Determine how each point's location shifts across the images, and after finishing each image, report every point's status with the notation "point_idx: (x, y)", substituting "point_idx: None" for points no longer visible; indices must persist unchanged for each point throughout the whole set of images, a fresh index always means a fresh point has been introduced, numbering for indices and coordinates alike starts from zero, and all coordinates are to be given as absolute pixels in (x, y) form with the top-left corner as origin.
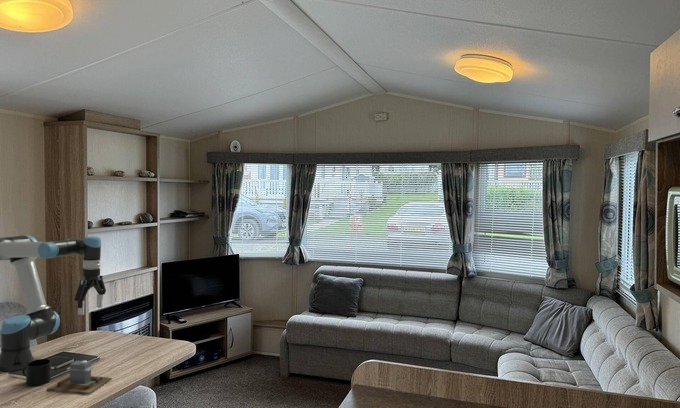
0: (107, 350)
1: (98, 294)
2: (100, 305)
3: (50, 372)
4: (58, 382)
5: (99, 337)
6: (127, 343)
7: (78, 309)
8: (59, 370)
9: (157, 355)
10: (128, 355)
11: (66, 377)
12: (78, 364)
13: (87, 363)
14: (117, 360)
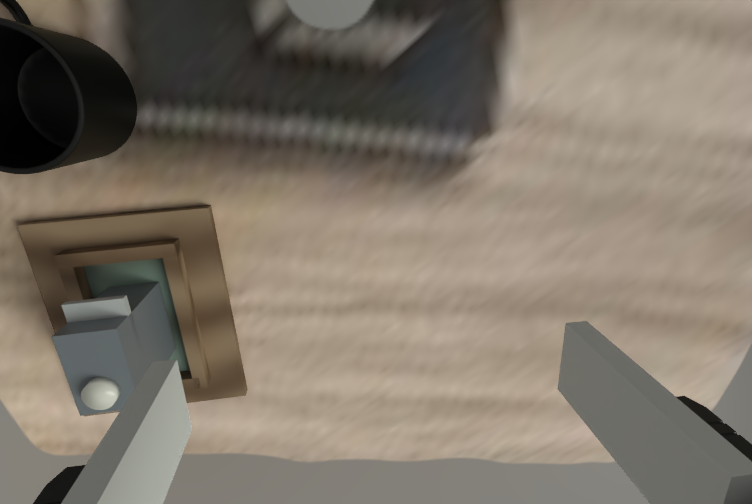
0: (578, 125)
1: (747, 493)
2: (576, 395)
3: (92, 156)
4: (59, 258)
5: None
6: (695, 156)
7: (119, 421)
8: (249, 83)
9: (548, 386)
10: (527, 274)
11: (125, 249)
12: (72, 379)
13: (109, 409)
14: (455, 269)
